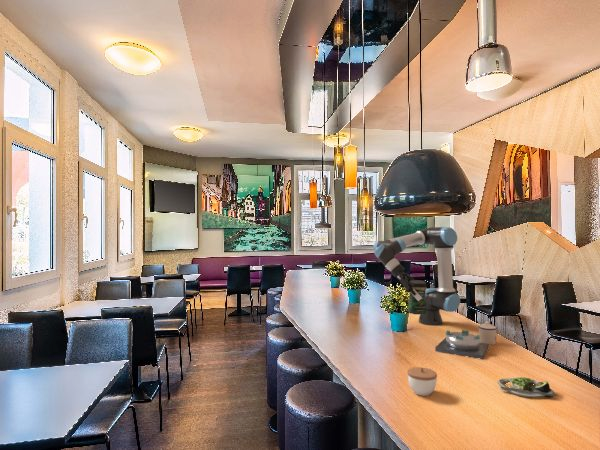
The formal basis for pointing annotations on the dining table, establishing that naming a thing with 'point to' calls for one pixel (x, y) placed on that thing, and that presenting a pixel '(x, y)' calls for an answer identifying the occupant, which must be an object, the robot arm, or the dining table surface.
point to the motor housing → (462, 344)
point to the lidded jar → (422, 380)
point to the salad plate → (527, 387)
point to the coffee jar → (414, 304)
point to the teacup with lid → (487, 333)
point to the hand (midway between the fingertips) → (422, 298)
